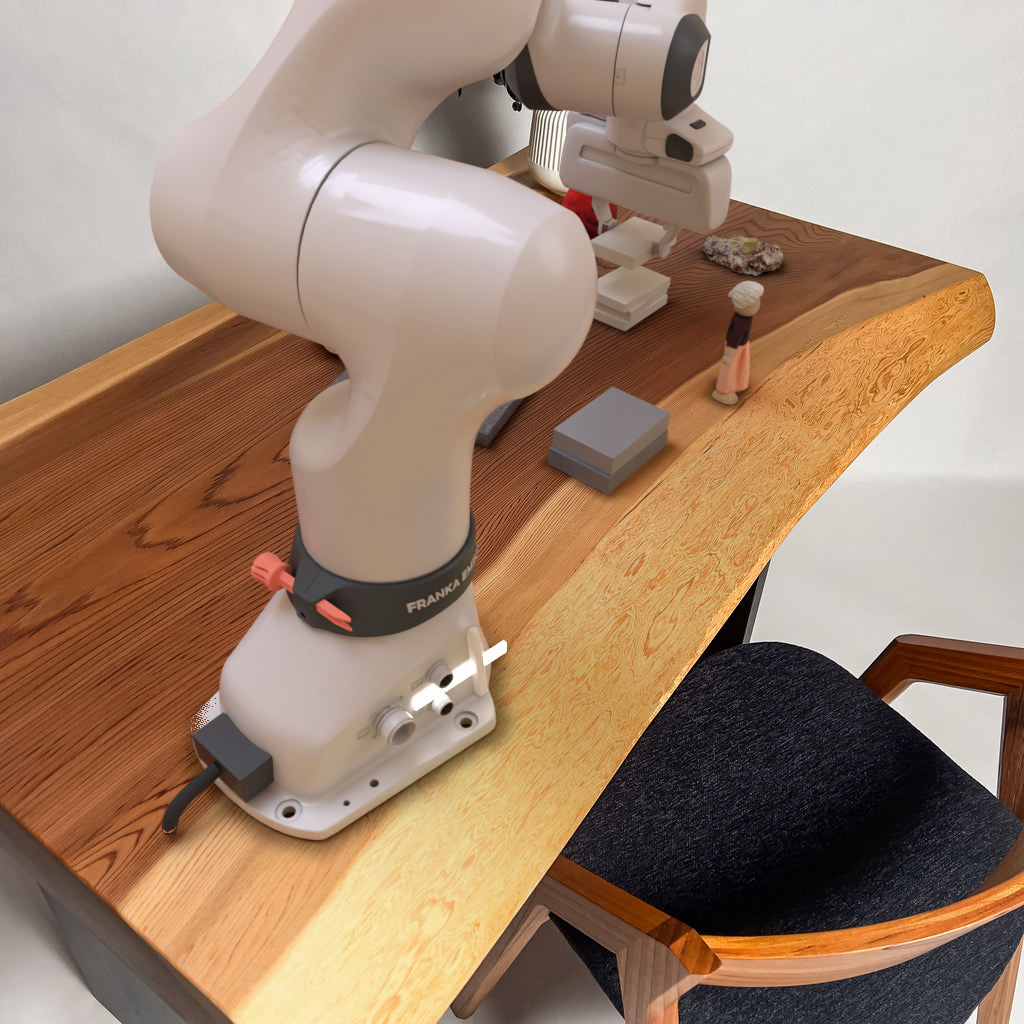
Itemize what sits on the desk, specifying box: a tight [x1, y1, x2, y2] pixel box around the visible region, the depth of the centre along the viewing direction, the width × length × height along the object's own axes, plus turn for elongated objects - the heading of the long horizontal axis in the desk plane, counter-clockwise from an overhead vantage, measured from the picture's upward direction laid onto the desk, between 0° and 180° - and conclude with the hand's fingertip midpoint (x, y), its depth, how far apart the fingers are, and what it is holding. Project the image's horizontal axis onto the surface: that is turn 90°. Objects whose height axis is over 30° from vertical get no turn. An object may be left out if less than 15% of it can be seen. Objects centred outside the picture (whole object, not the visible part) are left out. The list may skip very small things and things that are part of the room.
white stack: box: [593, 265, 671, 332], centre depth 114 cm, size 10×7×4 cm
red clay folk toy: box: [561, 188, 618, 240], centre depth 123 cm, size 8×7×15 cm
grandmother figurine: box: [711, 280, 765, 406], centre depth 98 cm, size 8×4×13 cm, turn 168°
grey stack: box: [547, 386, 671, 496], centre depth 92 cm, size 10×7×4 cm
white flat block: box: [590, 216, 678, 270], centre depth 109 cm, size 9×6×2 cm, turn 141°
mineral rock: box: [701, 233, 785, 277], centre depth 125 cm, size 11×4×8 cm
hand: (633, 245), depth 110 cm, fingers closed on white flat block, 6 cm apart
